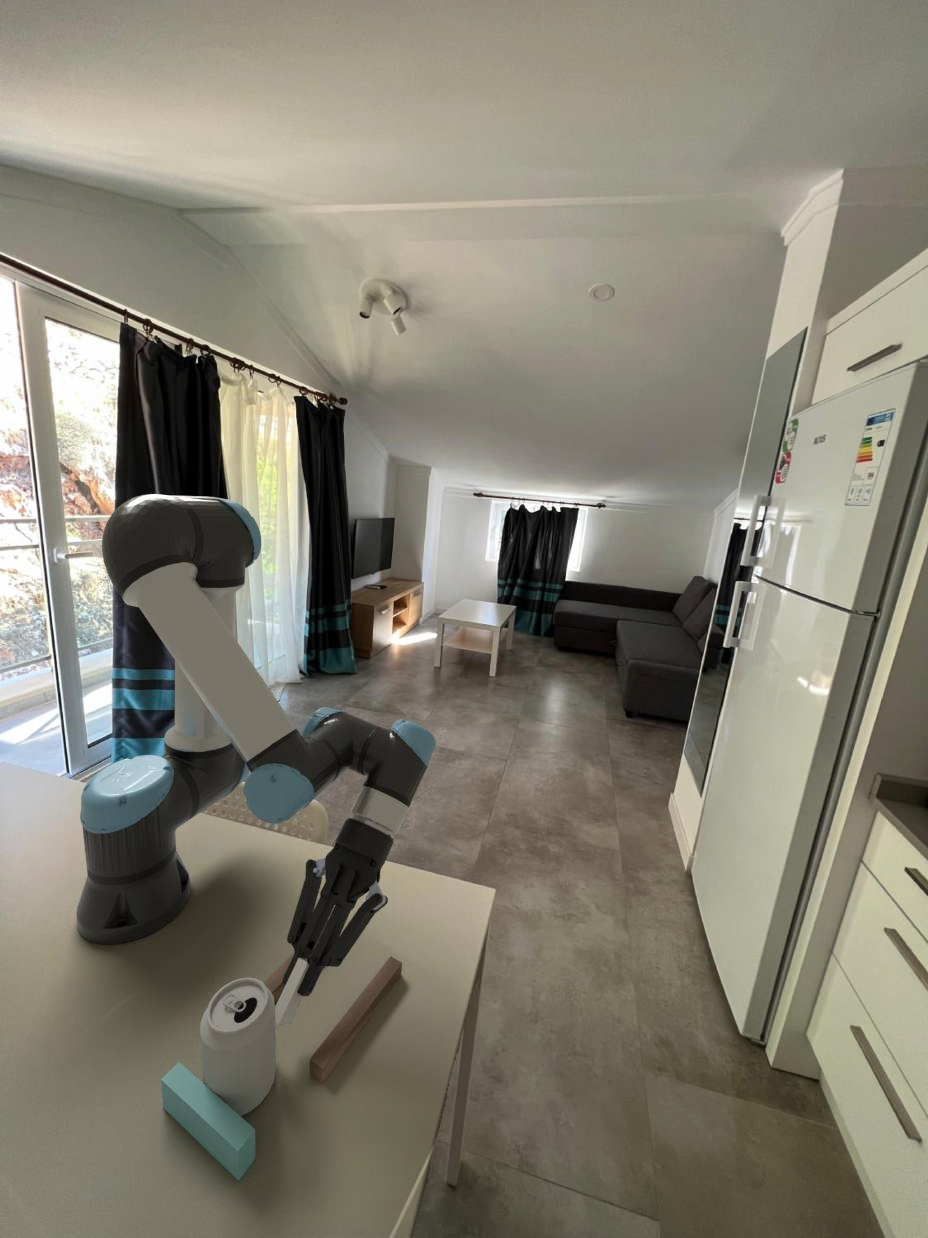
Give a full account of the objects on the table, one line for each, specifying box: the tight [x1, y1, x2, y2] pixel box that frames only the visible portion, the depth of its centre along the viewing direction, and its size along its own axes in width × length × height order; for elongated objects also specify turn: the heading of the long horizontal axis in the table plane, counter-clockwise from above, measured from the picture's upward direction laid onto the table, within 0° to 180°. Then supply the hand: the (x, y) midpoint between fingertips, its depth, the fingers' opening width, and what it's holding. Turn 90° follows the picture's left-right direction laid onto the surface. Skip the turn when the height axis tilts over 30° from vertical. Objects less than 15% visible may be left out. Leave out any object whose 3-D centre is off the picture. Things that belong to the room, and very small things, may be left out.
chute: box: [263, 921, 403, 1084], centre depth 67 cm, size 14×16×2 cm
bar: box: [160, 1061, 256, 1182], centre depth 52 cm, size 12×2×4 cm, turn 63°
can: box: [199, 976, 277, 1117], centre depth 55 cm, size 8×8×12 cm
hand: (280, 1021), depth 60 cm, fingers closed
